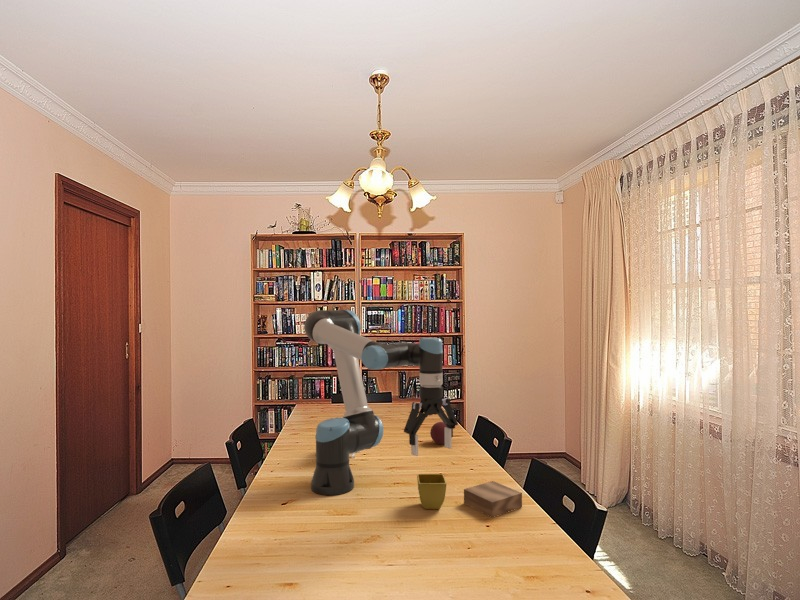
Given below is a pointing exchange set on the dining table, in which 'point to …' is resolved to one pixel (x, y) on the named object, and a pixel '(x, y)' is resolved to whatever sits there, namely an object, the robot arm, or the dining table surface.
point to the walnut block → (492, 498)
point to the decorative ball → (438, 432)
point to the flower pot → (431, 490)
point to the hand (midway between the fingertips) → (431, 451)
